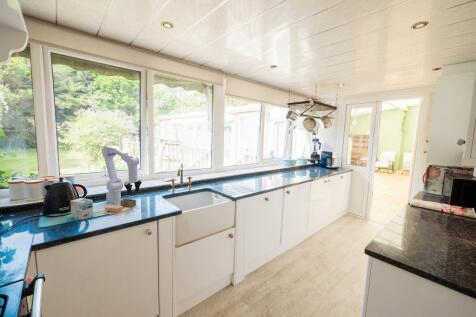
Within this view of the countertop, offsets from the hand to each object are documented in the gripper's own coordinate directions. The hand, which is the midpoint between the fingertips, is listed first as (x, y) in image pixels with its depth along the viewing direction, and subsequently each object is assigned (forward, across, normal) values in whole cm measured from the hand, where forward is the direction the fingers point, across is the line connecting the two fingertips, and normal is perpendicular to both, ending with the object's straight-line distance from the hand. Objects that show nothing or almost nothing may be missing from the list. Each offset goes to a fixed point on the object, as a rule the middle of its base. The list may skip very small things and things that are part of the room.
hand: (133, 192), depth 147 cm
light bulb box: (+11, -26, +15) cm, 32 cm away
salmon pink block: (+10, -13, +4) cm, 17 cm away
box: (+10, -1, +4) cm, 11 cm away
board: (+10, -12, +4) cm, 16 cm away
